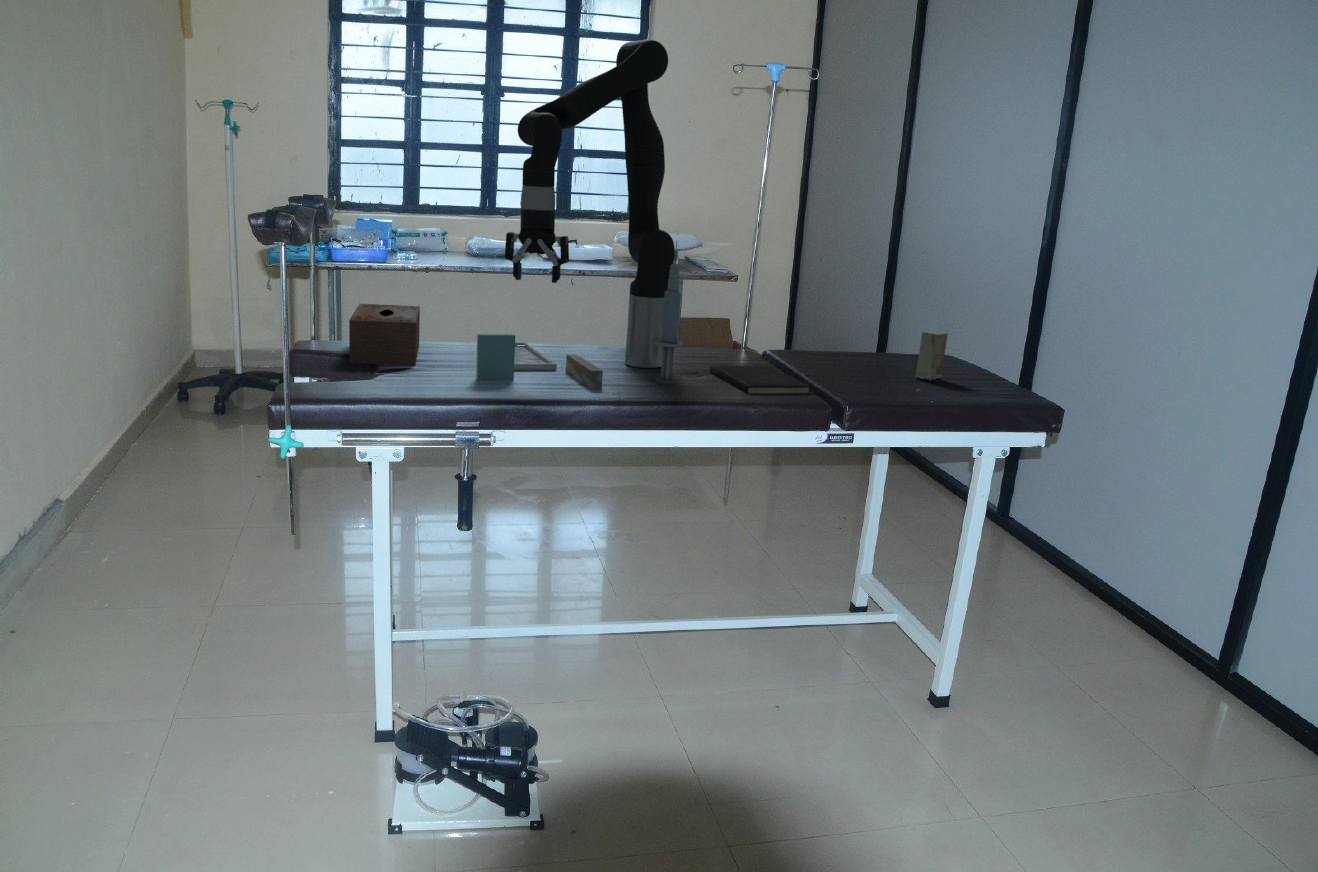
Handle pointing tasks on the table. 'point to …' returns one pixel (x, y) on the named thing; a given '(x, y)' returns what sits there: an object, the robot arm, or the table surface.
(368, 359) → the tissue box cover
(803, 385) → the hardcover book
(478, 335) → the tile
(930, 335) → the skincare box
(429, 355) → the table surface
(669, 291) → the syringe
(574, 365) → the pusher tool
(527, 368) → the instrument tray
